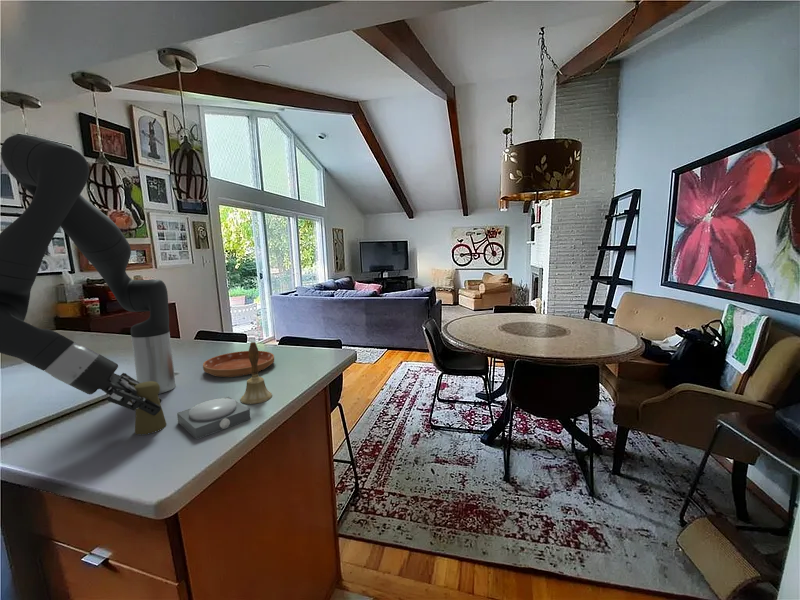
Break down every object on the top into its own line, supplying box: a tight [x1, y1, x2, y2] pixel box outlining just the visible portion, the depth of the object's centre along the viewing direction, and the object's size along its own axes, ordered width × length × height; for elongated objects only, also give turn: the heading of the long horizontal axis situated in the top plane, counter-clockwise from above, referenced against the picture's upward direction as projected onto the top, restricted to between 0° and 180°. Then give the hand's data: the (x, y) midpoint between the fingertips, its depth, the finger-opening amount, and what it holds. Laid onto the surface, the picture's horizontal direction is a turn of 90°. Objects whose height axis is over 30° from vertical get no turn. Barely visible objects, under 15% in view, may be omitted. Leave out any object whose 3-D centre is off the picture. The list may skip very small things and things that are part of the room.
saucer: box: [202, 350, 275, 378], centre depth 123 cm, size 23×23×4 cm
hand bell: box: [239, 341, 273, 405], centre depth 96 cm, size 8×8×16 cm
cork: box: [133, 381, 167, 436], centre depth 80 cm, size 6×6×11 cm
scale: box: [176, 396, 251, 440], centre depth 84 cm, size 12×12×4 cm
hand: (158, 407), depth 81 cm, fingers closed on cork, 4 cm apart
